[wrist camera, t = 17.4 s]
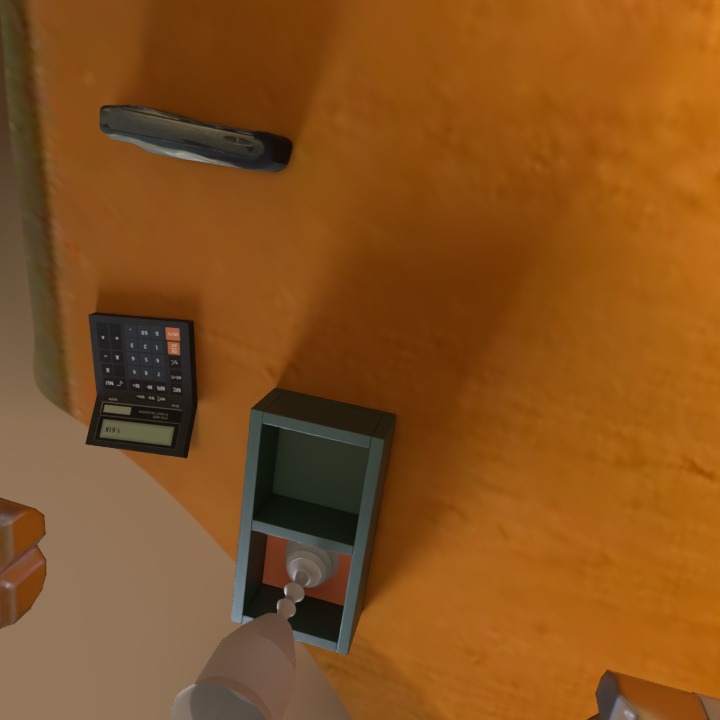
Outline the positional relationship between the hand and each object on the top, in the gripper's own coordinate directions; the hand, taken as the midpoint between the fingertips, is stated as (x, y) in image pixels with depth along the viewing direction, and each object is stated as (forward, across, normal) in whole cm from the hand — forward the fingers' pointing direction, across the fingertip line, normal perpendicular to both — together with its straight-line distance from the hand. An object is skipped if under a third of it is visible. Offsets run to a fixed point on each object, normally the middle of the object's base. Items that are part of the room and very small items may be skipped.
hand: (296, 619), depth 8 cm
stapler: (+37, +21, -7) cm, 43 cm away
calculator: (+37, +25, +14) cm, 47 cm away
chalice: (+36, +8, +27) cm, 46 cm away
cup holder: (+37, +8, +22) cm, 44 cm away
